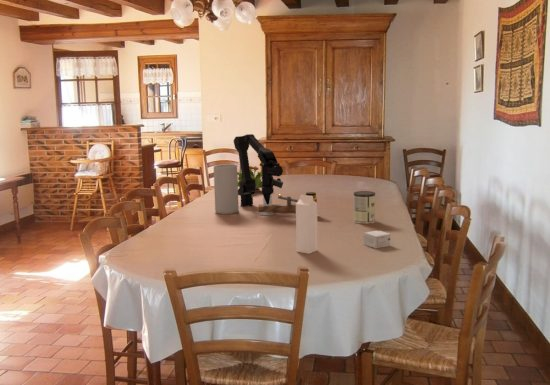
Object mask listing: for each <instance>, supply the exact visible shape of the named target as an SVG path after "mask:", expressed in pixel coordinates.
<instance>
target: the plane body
mask: <svg viewBox="0 0 550 385" xmlns="http://www.w3.org/2000/svg"><path fill="white" fill-rule="evenodd" d="M286 198H287V200H286V203H272V206H264V203H263V204H258V213H260V212H273V213H275V212H278V213H279V212H296V203H292V201H291V198H292V196H287V197H286Z"/></svg>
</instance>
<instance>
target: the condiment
mask: <svg viewBox="0 0 550 385" xmlns="http://www.w3.org/2000/svg"><path fill="white" fill-rule="evenodd" d="M305 195H308V196H313V200H314V201H315V202H316V203H317V202H318V198H317V192H315V191H308V192H305ZM317 204H318V203H317ZM317 217H320V215H319V214H317Z"/></svg>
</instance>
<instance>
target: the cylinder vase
mask: <svg viewBox="0 0 550 385" xmlns="http://www.w3.org/2000/svg"><path fill="white" fill-rule="evenodd" d="M237 172H238V164H230V163H229V164H217V165H215V164H214V165H213V184H214V186H213V187H214V189H213V190H214V211H215V213H217V214H220V215H233V214H235V213H236V214H237V213H238V212H239V210H240V209H239V195H238V189H239V187H238V181H239V180H238V177H239V175H238V173H239V172H238V173H237Z"/></svg>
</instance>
